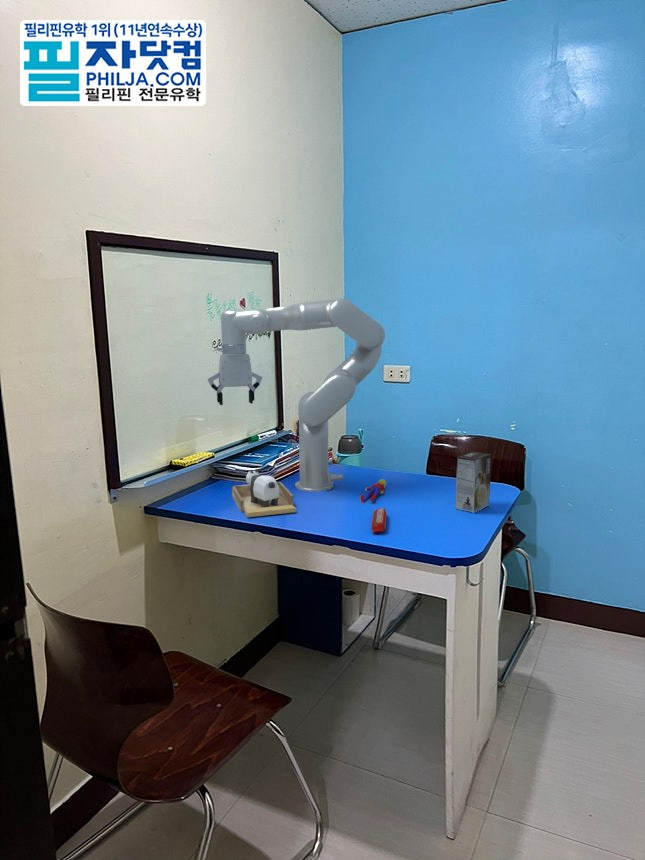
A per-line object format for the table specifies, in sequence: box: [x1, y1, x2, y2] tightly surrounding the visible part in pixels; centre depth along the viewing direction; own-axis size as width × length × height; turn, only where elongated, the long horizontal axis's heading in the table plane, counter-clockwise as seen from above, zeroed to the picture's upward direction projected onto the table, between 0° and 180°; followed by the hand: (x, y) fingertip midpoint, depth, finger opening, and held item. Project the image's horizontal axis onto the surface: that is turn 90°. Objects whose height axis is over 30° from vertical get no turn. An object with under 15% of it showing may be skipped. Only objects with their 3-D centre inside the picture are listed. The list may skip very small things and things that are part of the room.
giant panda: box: [245, 468, 279, 507], centre depth 191 cm, size 15×6×10 cm, turn 37°
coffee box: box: [455, 451, 492, 513], centre depth 184 cm, size 9×6×16 cm
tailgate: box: [244, 504, 297, 518], centre depth 181 cm, size 14×1×4 cm
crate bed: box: [231, 481, 294, 513], centre depth 192 cm, size 16×16×4 cm
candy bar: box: [371, 507, 387, 534], centre depth 172 cm, size 16×4×3 cm, turn 172°
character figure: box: [359, 478, 387, 504], centre depth 201 cm, size 6×4×20 cm
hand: (236, 403), depth 202 cm, fingers open, 9 cm apart
